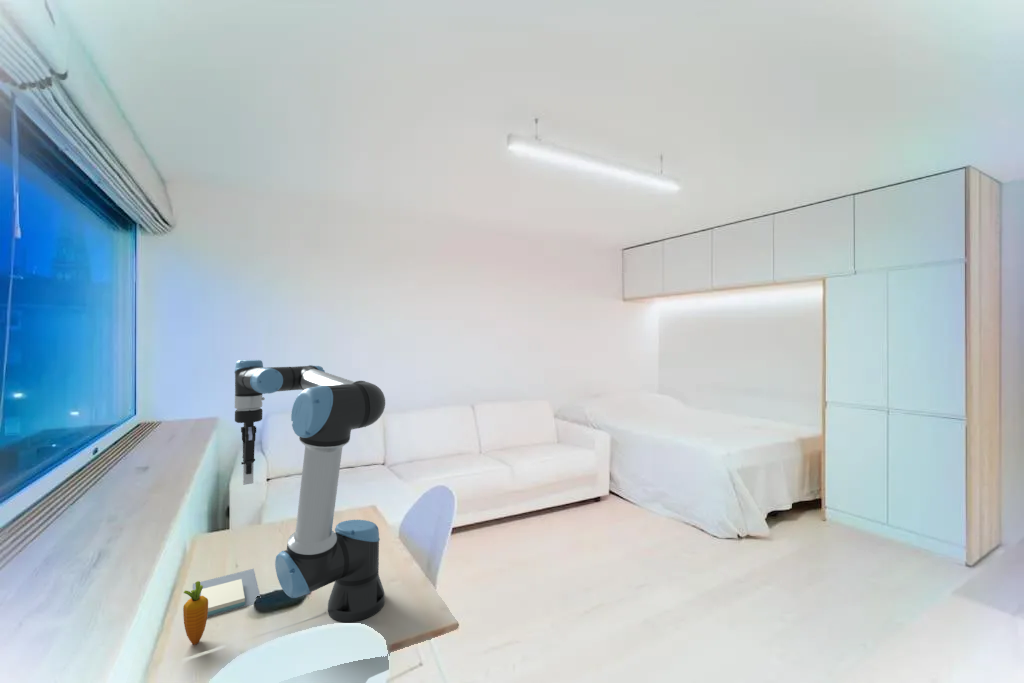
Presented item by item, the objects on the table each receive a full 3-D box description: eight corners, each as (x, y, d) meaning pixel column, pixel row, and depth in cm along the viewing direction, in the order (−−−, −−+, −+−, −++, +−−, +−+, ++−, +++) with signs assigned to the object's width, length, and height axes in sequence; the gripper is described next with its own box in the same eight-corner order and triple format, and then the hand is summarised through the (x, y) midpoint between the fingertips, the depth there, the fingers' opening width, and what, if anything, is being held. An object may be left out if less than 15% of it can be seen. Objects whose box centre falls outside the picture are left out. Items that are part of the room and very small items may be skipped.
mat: (261, 603, 126) (261, 601, 126) (191, 624, 117) (191, 621, 117) (253, 570, 144) (253, 568, 144) (192, 585, 135) (192, 583, 135)
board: (241, 585, 134) (244, 605, 124) (200, 596, 128) (201, 617, 118) (241, 578, 134) (244, 597, 124) (200, 589, 128) (201, 610, 118)
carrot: (195, 653, 106) (195, 590, 106) (177, 650, 107) (178, 588, 107) (212, 639, 111) (213, 579, 111) (195, 637, 112) (196, 577, 111)
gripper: (264, 410, 137) (264, 486, 137) (260, 405, 148) (259, 476, 148) (236, 412, 133) (235, 491, 133) (233, 407, 143) (232, 480, 143)
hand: (248, 483), depth 140 cm, fingers closed
